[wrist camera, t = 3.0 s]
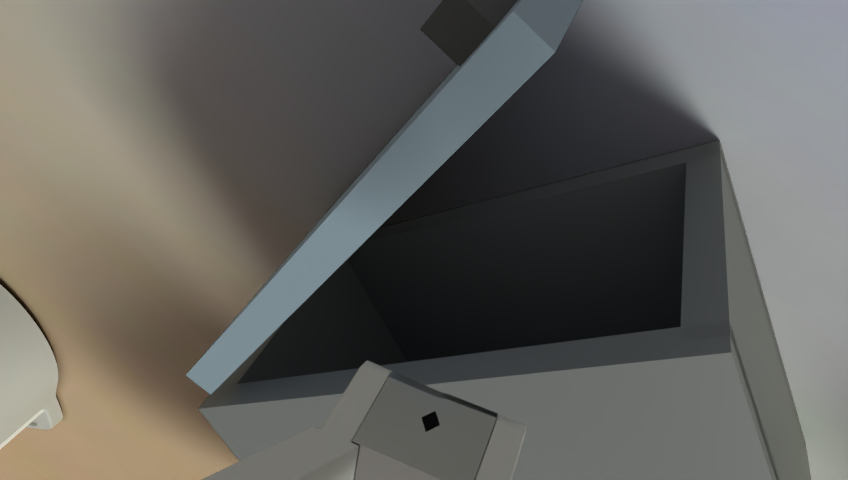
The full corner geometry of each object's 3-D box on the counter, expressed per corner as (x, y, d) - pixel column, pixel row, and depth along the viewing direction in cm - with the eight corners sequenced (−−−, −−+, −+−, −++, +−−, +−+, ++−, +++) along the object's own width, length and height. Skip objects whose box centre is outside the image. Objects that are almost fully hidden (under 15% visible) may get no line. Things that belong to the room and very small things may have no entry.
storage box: (460, 456, 34) (391, 652, 27) (332, 240, 29) (197, 408, 21) (805, 442, 26) (849, 717, 19) (719, 139, 21) (730, 352, 13)
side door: (338, 234, 28) (210, 395, 21) (299, 200, 28) (155, 351, 20) (612, -57, 18) (555, 52, 11) (557, -113, 18) (461, -40, 11)
